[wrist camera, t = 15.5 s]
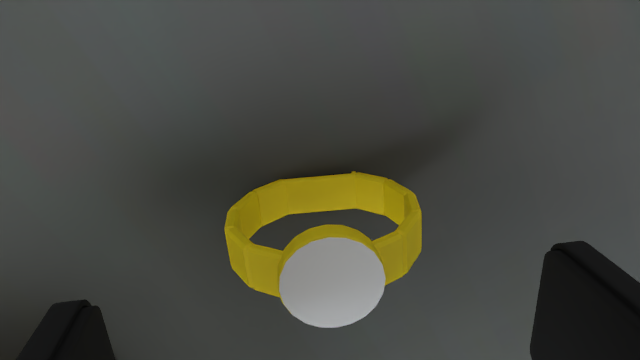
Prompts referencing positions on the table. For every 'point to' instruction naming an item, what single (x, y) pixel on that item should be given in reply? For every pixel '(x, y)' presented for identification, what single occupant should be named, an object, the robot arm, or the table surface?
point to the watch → (325, 245)
